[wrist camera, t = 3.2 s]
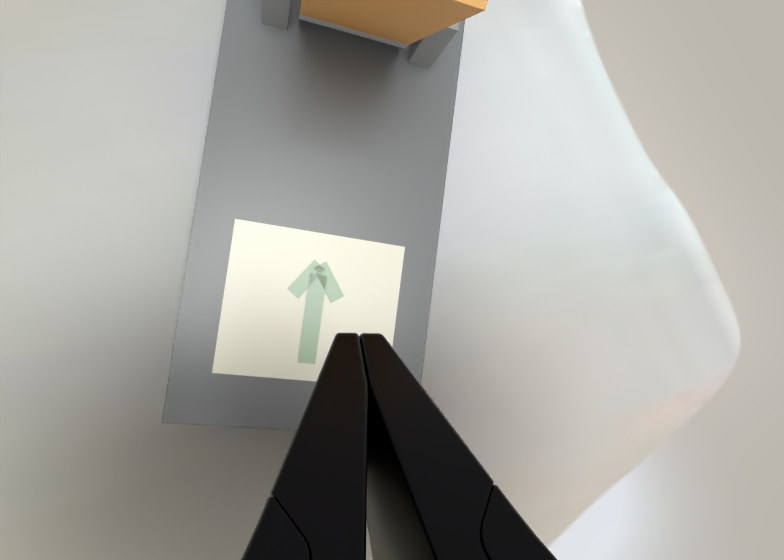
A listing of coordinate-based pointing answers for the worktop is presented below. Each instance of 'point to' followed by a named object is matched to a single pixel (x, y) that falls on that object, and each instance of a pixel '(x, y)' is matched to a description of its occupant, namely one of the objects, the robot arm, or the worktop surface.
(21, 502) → the worktop surface
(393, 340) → the switch panel
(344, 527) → the robot arm
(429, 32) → the orange lever
